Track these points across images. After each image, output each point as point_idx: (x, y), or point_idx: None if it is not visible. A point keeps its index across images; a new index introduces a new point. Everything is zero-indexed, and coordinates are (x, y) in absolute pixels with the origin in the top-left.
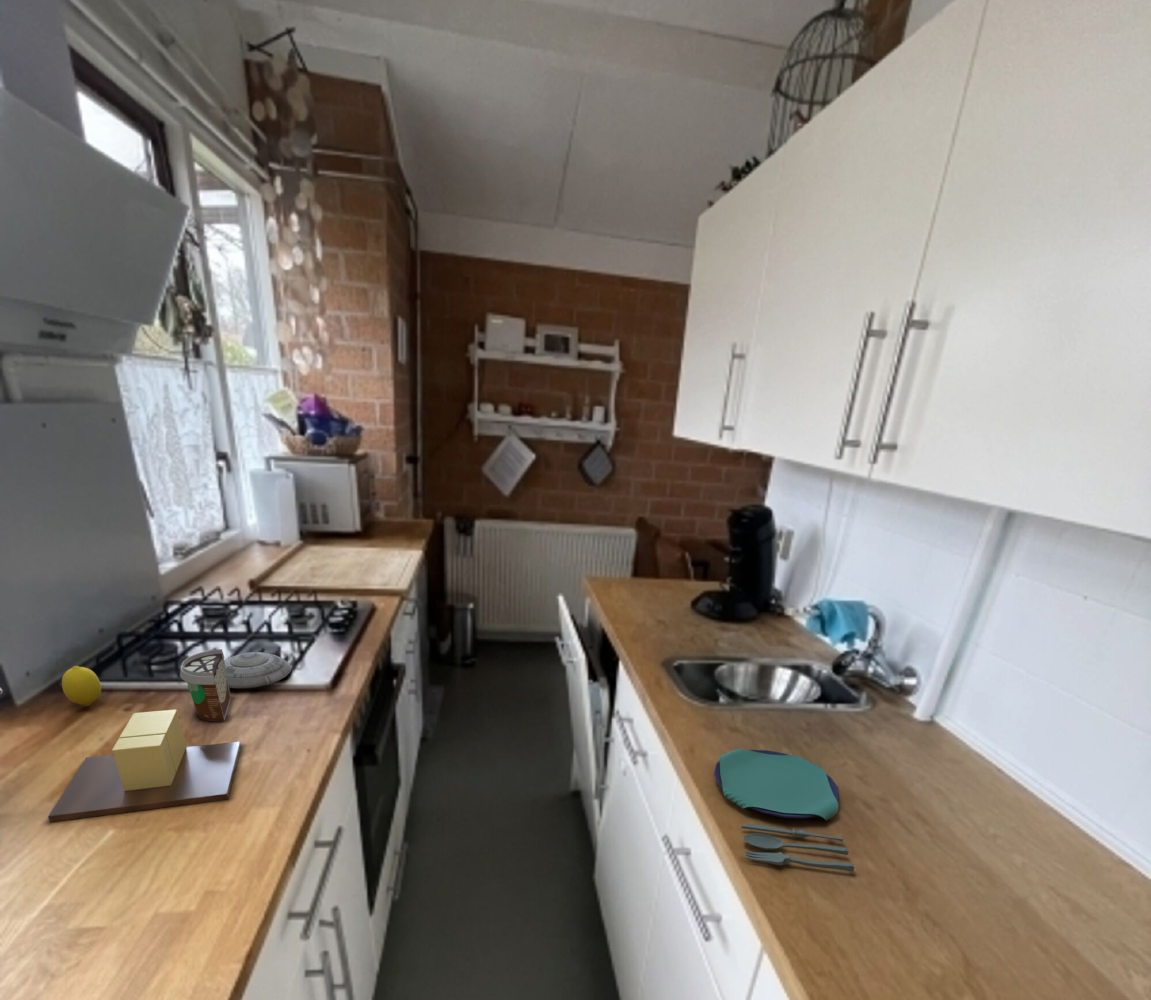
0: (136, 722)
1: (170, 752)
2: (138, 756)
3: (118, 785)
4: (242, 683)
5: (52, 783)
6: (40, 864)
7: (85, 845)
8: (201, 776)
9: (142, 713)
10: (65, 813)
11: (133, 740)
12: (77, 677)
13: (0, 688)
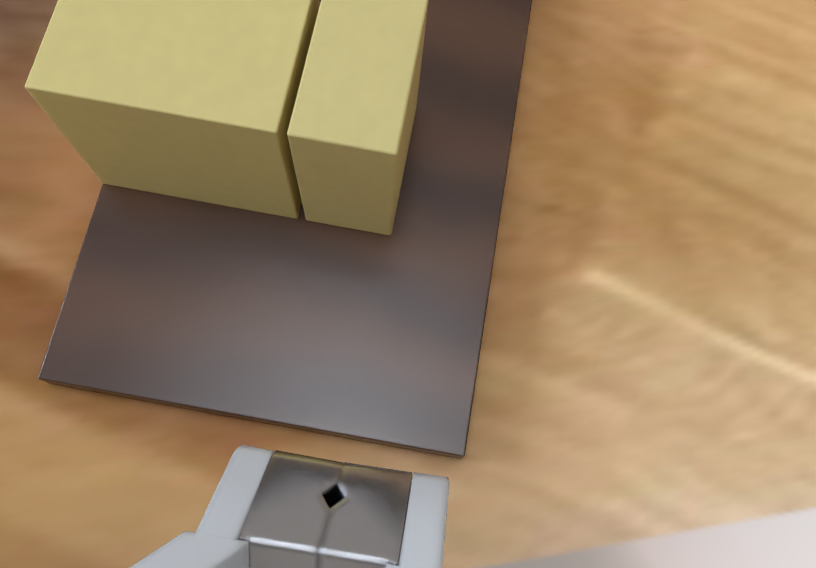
0: (147, 73)
1: None
2: (411, 97)
3: (339, 255)
4: None
5: (161, 490)
6: (707, 453)
7: (644, 340)
8: None
9: (53, 53)
10: (469, 402)
11: (339, 81)
12: None
13: (244, 451)
